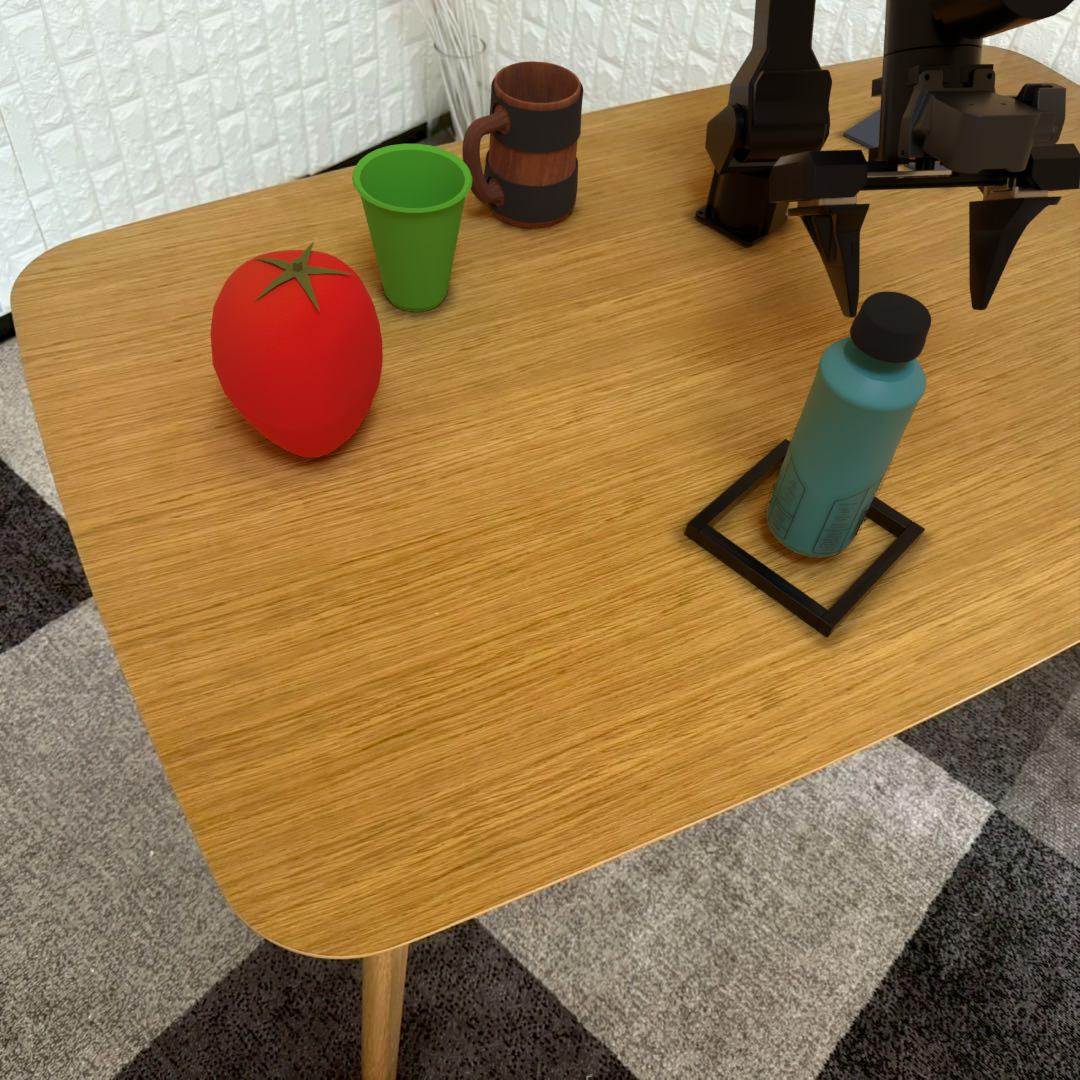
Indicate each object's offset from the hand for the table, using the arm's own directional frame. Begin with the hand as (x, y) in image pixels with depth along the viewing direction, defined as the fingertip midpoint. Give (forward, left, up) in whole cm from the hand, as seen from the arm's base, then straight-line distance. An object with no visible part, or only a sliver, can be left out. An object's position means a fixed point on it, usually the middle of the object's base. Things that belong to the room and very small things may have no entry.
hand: (915, 313), depth 67 cm
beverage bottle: (+2, -10, -13) cm, 17 cm away
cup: (-36, -12, -13) cm, 40 cm away
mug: (-39, +3, -13) cm, 41 cm away
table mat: (-20, +48, -13) cm, 54 cm away
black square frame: (+2, -10, -13) cm, 17 cm away
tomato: (-30, -28, -13) cm, 43 cm away
